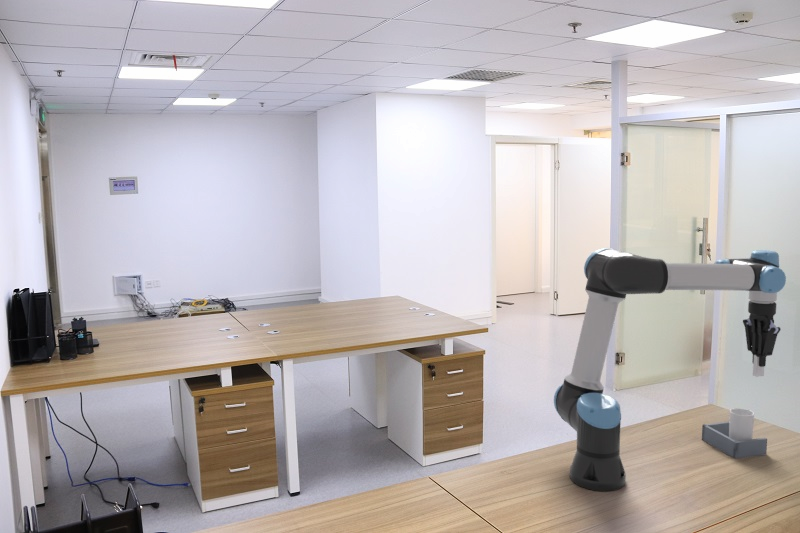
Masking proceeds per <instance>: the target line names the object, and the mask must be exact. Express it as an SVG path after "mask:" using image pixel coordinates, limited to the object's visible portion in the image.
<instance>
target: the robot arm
mask: <svg viewBox="0 0 800 533" xmlns="http://www.w3.org/2000/svg"><path fill="white" fill-rule="evenodd" d="M583 272H584V275H585V278H586V279H587V280H586V283H585V284H586V286H585V288H584V289H585V292H586V293H587V294H586V295H588V300H587V304H586V308H585V313H584V317H583V321H582V326H581V330H580V334H579V339H578V343H577V347H576V350H575V351H576V352H575V355H574V360H573V365H572V368H571V371H570V373H569V374H568V375H565V377H564V379H563V383H562V384H561V385H560V386H558V388H557V389H556V391H555V393H554V395H553V404H554V408H555V411H556V412H557V414H558V415H559V417H560V418H561V419H562V420H563V421H564V422H566V423H567V424H568V425H569V426H570V427H571V428H572V429H573V430H575V432H576V452H575V454H574V457H573V460H572V463H571V465H570V468H569V478H570V480H571V481H572V482H573V483H574V482H575V483H576V484H575V483H574V484H575V485H577V486H579V487H580V488H583V489H588V490H591V491H596V492H597V491H599V492H611V491H617V490H619V489H621V488H623V487H624V486H625V484H626V471H625V468H624V465H623V462H622V458H621V456H620V452H621V451H620V449H621V444H620V443H621V422H622V413H621V412H622V411H621V405H620V404H619V402H618V400H616V399H615V398H613V397H612V396H610V395H605V394H604V388H605V387H604V384H602V382H601V378H602V374H603V370H604V366H605V362H606V359H607V358H606V357H607V353H608V349H609V345H610V340H611V336H612V333H613V328H614V324H615V320H616V315H617V312H618V307H619V304H620V303H621V302H623V301H624V300H625V299H626V297H627V295H641V294H642V295H643V294H645V295H646V294H648V295H649V294H653V295H654V294H663V293H664V292H665V291H747V292H748V299H749V301H748V304H747V305H748V306H747V312H748V313H749V316H748V318H747V319H743V320H742V323H743V327H744V329H745V330H744V332H745V337H746V338H745V340H746V348H747V351H748V352H751V354H752V364H753V365H752V376H754V377H755V378H756V377H757V378H758V377H764V374H765V367H766V364H767V363H766V362H767V357H768V356H772V355H773V352H774V349H775V345H776V341H777V338H778V335H779V333H780V331H781V327H780V326H776V325H775V320H774V316H775V315H776V314H777V302H776V301H777V300H778V299H777V297H778V292H780V291H782V290H783V289H784V287H785V285H786V281H787V277H786V273H785V271H784V270H783V269H781V268H780V254H779V253H778V252H777V251H775V250H774V251H773V250H763V249H760V250H759V249H758V250H753V251H752V252H751V253H750V257H748V258H725V259H724V258H723V259H717V260H716V261H715V262H714V263H703V262H702V263H699V262H698V263H697V262H696V263H695V262H693V263H692V262H691V263H690V262H689V263H688V262H666V261H665V260H664V259H662V258H651V257H646V256H641V255H636V254H633V253H631V252H627V251H622V250H618V249H615V248H610V247H609V248H608V247H607V248H600V249H597V250H594V251H593V252H592V253H590V255H589V256H588V257H587V259H586V260H585V263H584V266H583Z"/></svg>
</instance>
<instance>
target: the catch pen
mask: <svg viewBox="0 0 800 533" xmlns="http://www.w3.org/2000/svg"><path fill="white" fill-rule="evenodd" d="M701 429H702V430H701V440H702V441H704V442H705V443H707V444H709V445H710V446H712V447H714V448H716V449H717V450H719V451H721V452H723V453H725V454H726V455H728V456H729V457H732V459H736V460H737V459H743V458H750V457H751V458H752V457H758V456H765V455H767V451H768V450H767V449H768V448H767V447H768V438H767V437H758V438H752V439H750V440H742V441H735V440H733V439H731V438H730V437H729V421H722V422H712V423H704V424H702V428H701Z"/></svg>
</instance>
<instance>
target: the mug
mask: <svg viewBox="0 0 800 533" xmlns="http://www.w3.org/2000/svg"><path fill="white" fill-rule="evenodd" d="M754 422H755V412H754V411H752V410H750V409H747V408H740V407H733V408H730V409H729V437H730V438H731V439H733V440H735V441H742V440H750V439H753V434H754V433H753V432H754Z"/></svg>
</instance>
